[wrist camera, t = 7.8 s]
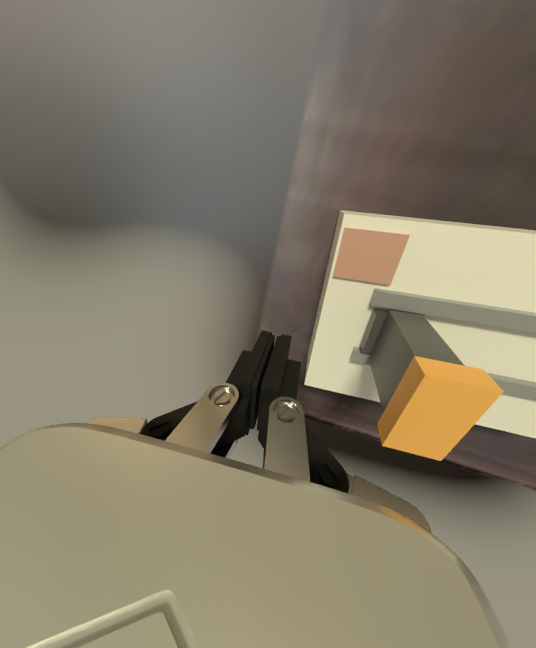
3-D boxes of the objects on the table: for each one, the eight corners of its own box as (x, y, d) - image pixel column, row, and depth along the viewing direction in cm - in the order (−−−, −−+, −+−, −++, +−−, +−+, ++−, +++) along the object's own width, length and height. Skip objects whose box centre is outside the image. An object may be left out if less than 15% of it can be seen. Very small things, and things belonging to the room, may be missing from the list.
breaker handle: (429, 306, 14) (513, 393, 8) (401, 361, 16) (448, 462, 10) (377, 297, 15) (416, 373, 8) (357, 352, 17) (375, 444, 11)
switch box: (701, 247, 14) (901, 273, 9) (539, 400, 21) (602, 459, 16) (339, 210, 17) (344, 214, 12) (308, 352, 24) (303, 389, 19)
